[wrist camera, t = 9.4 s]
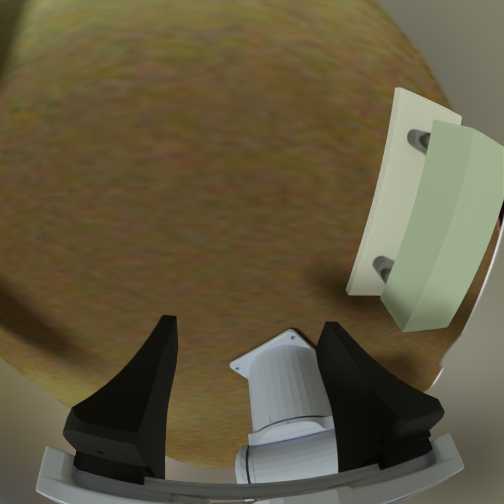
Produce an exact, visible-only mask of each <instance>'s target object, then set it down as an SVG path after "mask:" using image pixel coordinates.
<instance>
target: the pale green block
mask: <svg viewBox="0 0 504 504" xmlns="http://www.w3.org/2000/svg"><path fill="white" fill-rule="evenodd" d="M503 199H504V147H503V146H501V145H500V144H498V143H497V142H495V141H494V140H492V139H490V138H489V137H487V136H485V135H484V134H482V133H481V132H479V131H477V130H476V129H473V128H469V127H465V126H461V125H457V124H452V123H448V122H443V121H438V120H433V124H432V129H431V135H430V140H429V145H428V150H427V154H426V159H425V163H424V167H423V172H422V176H421V180H420V183H419V187H418V191H417V195H416V198H415V202H414V205H413V209H412V212H411V215H410V218H409V222H408V225H407V228H406V231H405V234H404V237H403V240H402V243H401V246H400V248H399V251H398V254H397V257H396V259H395V262H394V265H393V267H392V270H391V273H390V275H389V278H388V280H387V283H386V285H385V287H384V290H383V292H382V295H381V297H380V299H381V301H382V302H383V304H384V305H385V307H386V308H387V310H388V311H389V313H390V314H391V316H392V317H393V319H394V321H395V322H396V324H397V325H398V327H399V328H400V330H401V332H412V331H421V330H430V329H438V328H446V327H448V325H449V324H450V322H451V320H452V318H453V317H454V315H455V313H456V311H457V309H458V308H459V306H460V304H461V302H462V300H463V298H464V296H465V294H466V292H467V290H468V288H469V286H470V284H471V282H472V280H473V278H474V276H475V274H476V272H477V269H478V267H479V265H480V263H481V260H482V258H483V256H484V253H485V251H486V248H487V246H488V243H489V241H490V238H491V235H492V233H493V230H494V227H495V224H496V221H497V218H498V215H499V212H500V209H501V206H502V203H503Z"/></svg>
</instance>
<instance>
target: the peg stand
mask: <svg viewBox="0 0 504 504" xmlns="http://www.w3.org/2000/svg"><path fill="white" fill-rule="evenodd" d="M433 120H438V121H443V122H448V123H452V124H457V125H461V120H462V117H461V116H460V115H458V114H456V113H454V112H452V111H450V110H448V109H447V108H445V107H443V106H441V105H439V104H436V103H434V102H432V101H430V100H428V99H426V98H424V97H421V96H419V95H417V94H415V93H412V92H410V91H408V90H405V89H403V88H395V93H394V100H393V107H392V113H391V119H390V124H389V130H388V135H387V140H386V146H385V150H384V155H383V160H382V164H381V169H380V173H379V178H378V182H377V186H376V190H375V194H374V198H373V202H372V205H371V209H370V213H369V217H368V220H367V224H366V227H365V231H364V234H363V237H362V241H361V244H360V247H359V251H358V254H357V257H356V260H355V263H354V266H353V269H352V272H351V275H350V278H349V281H348V284H347V287H346V292H347V294H348V295H382V292H383V290H384V287H385V285H386V283H387V280H388V278H389V275H390V273H391V270H392V267H393V265H394V262H395V259H396V257H397V254H398V251H399V248H400V246H401V243H402V240H403V237H404V234H405V231H406V228H407V225H408V222H409V218H410V215H411V212H412V209H413V205H414V202H415V198H416V195H417V191H418V187H419V183H420V180H421V176H422V172H423V167H424V163H425V159H426V154H427V150H428V145H429V140H430V135H431V129H432V124H433Z"/></svg>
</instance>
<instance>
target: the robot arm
mask: <svg viewBox="0 0 504 504" xmlns="http://www.w3.org/2000/svg"><path fill="white" fill-rule="evenodd" d="M292 336H294V337H292ZM177 353H178V336H177V320H176V316H170V315H163V316H161V318H160V320H159V322H158V323H157V325H156V327H155V328H154V330H153V331H152V333H151V334H150V336H149V337H148V339H147V340H146V341H145V343H144V344H143V346H142V347H141V348H140V349H139V351H138V352H137V353H136V354H135V356H134V357H133V358H132V359H131V360H130V362H129V363H128V364H127V365H126V366H125V367H124V368H123V369H122V370H121V371H120V372H119V373H118V374H117V375H116V376H115V377H114V378H113V379H112V380H110V381H109V382H108V383H107V384H106V385H105V386H103V387H102V388H101V389H99V390H98V391H97V392H95V393H94V394H93V395H91V396H90V397H88V398H87V399H85V400H83V401H82V402H80V403H79V404H77V405H75V406H73V407H72V409H71V411H70V413H69V415H68V417H67V420H66V424H65V427H64V430H63V436H64V437H65V439H66V440H67V441H68V442H69V443H70V444H71V445H72V446H73V447H74V448H75V449H76V450H77V451H76V455H75V456H74V455H72V454H70V453H67V452H65V451H62V450H59V449H56V448H54V447H51V446H46V450H45V453H44V457H43V461H42V465H41V469H40V473H39V477H38V482H37V487H36V491H37V492H38V493H40V494H42V495H44V496H46V497H47V498H49V499H51V500H53V501H55V502H58V503H59V504H397V503H399V502H401V501H404V500H406V499H408V498H411V497H413V496H415V495H417V494H420V493H421V492H424V491H426V490H428V489H430V488H432V487H434V486H436V485H438V484H439V483H441V482H443V481H444V480H446V479H448V478H449V477H451V476H453V475H454V474H456V473H457V472H459V471H460V470H462V469H463V468H464V465H463V462H462V460H461V458H460V455H459V453H458V451H457V448H456V446H455V444H454V442H453V440H452V437H451V435H450V434H449V433H448V434H445V435H443V436H441V437H439V438H436V439H434V440H433V441H431V442H430V441H429V439H428V438H429V437H430V436H431V434H430V431H429V430H430V429H431V428H432V427H433V426H434V425H435V424H436V423H438V422H439V421H440V419H441V418H442V417H443V415H444V410H443V408H442V406H441V404H440V402H439V400H438V399H437V398H434V397H432V396H429V395H427V394H425V393H423V392H421V391H419V390H417V389H415V388H413V387H411V386H409V385H408V384H406V383H404V382H403V381H401V380H400V379H398V378H397V377H395V376H394V375H392V374H391V373H390V372H388V371H387V370H386V369H384V368H383V367H382V366H381V365H380V364H378V363H377V362H376V361H375V360H374V359H373V358H372V357H371V356H370V355H369V354H367V353H366V352H365V351H364V350H363V349H362V348H361V347H360V346H359V344H358V343H357V342H356V341H355V340H354V339H353V338H352V337H351V336H350V335H349V334H348V333H347V332H346V331H345V330H344V328H343V327H342V326H341V325H340V324H339V323H338V322H326V323H325V325H324V328H323V331H322V333H321V336H320V339H319V341H318V344H317V346H316V349H314V348H313V347H312V346H311V345H309V344H308V343H307V342H306V341H305V340H304V339H303V338H302V337H301V336H300V335H299V334H298V333H297V332H296V331H295V330H293V329H289V330H287V331H285V332H284V333H282V334H280V335H279V336H277V337H275V338H273V339H272V340H270V341H268V342H267V343H265V344H263V345H261V346H260V347H258V348H256V349H254V350H252V351H251V352H249V353H247V354H245V355H243V356H242V357H240V358H238V359H236V360H234V361H232V362H231V363H230V368H232V369H233V370H235V371H236V372H238V373H239V374H241V375H242V376H244V377H245V378H247V379H248V382H249V393H250V404H251V414H252V425H253V434H249V435H248V437H249V444H247V445H243V446H242V447H241V449H240V451H239V452H238V453H237V456H236V463H235V469H236V478H237V483H238V484H215V483H214V484H213V483H195V482H194V483H193V482H183V481H173V480H165V441H166V423H167V410H168V403H169V398H170V393H171V388H172V383H173V378H174V373H175V369H176V363H177ZM207 499H212V500H213V499H214V500H216V499H217V500H242V499H243V500H245V501H244V502H229V503H228V502H227V503H210V501H209V500H207Z"/></svg>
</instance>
